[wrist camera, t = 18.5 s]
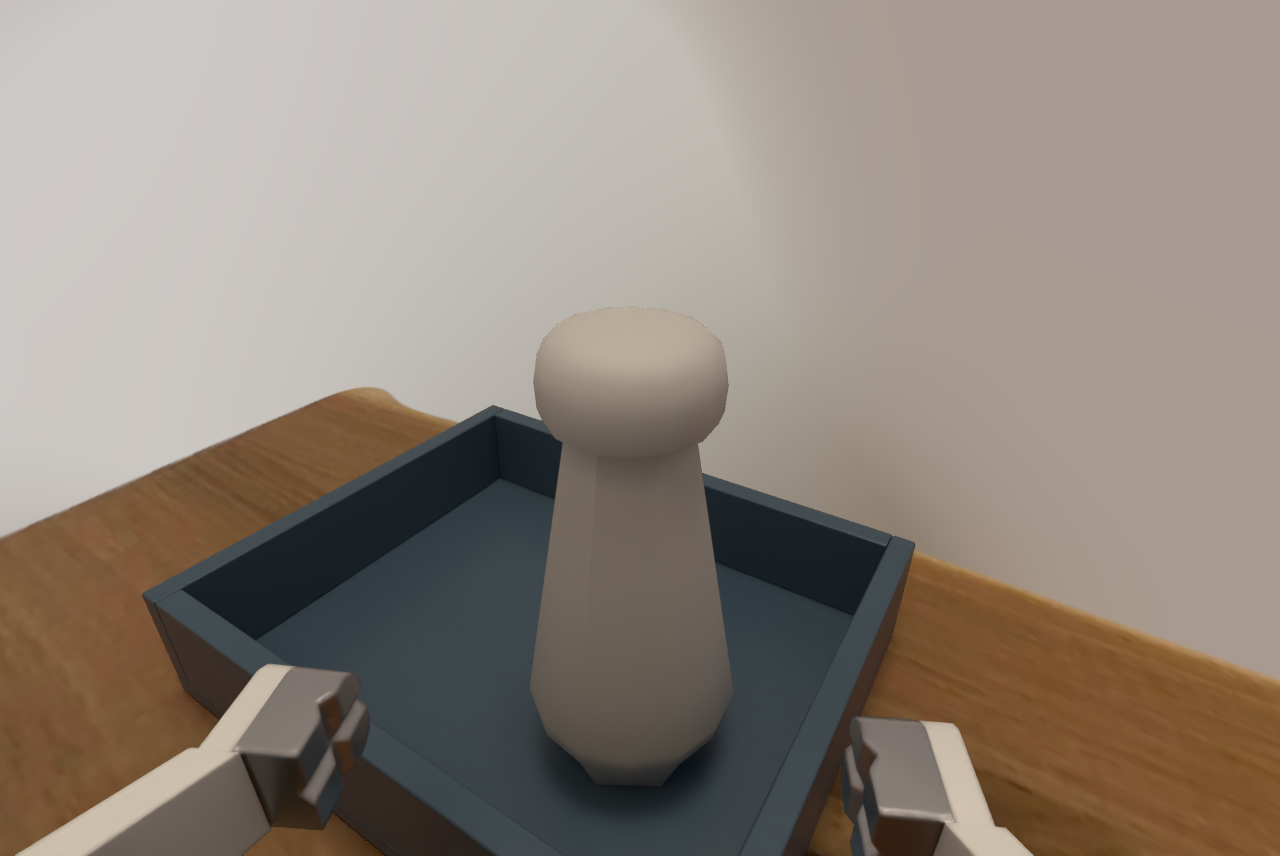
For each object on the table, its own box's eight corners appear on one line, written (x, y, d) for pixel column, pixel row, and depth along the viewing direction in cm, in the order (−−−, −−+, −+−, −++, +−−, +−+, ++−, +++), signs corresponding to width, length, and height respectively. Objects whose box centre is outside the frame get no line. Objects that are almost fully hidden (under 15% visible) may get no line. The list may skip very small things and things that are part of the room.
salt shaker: (762, 720, 21) (818, 320, 15) (645, 867, 17) (655, 408, 11) (621, 630, 24) (619, 272, 18) (496, 736, 20) (438, 326, 14)
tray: (893, 633, 25) (916, 541, 23) (701, 1115, 14) (714, 1015, 12) (500, 479, 34) (492, 404, 32) (183, 690, 23) (140, 593, 21)
